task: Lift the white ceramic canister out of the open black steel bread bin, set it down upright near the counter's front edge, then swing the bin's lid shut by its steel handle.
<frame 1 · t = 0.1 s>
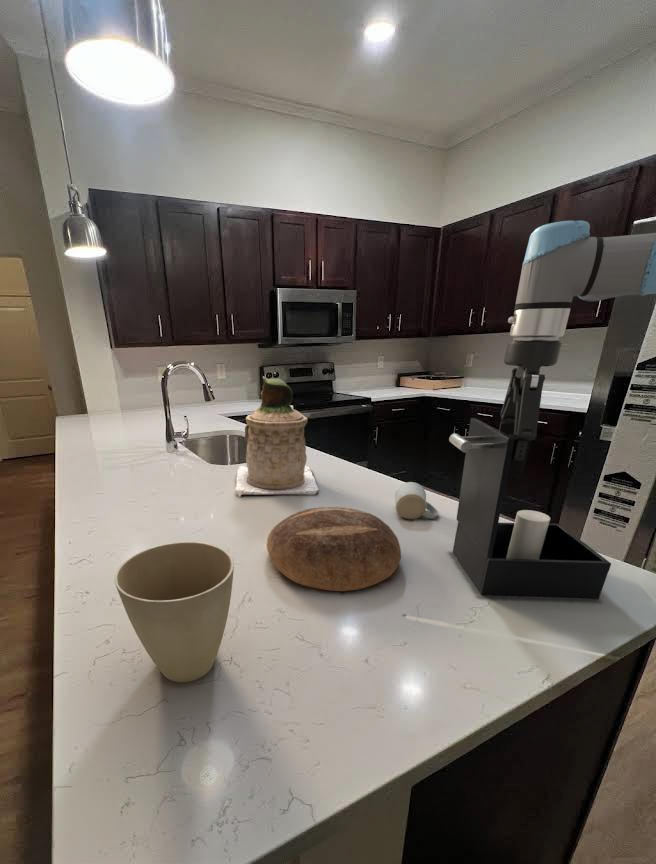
hand: (506, 466, 75), 21 cm above the counter, tool pointing down, fingers open, 13 cm apart
bin lid: (466, 485, 73), point 18 cm above the counter, hinge at 92.0°
ceramic mug: (414, 515, 107), on the counter
bread bin: (517, 576, 80), on the counter
cookie jar: (275, 483, 131), on the counter
canister: (518, 573, 80), point 1 cm above the counter, touching bread bin
bread: (331, 559, 87), on the counter
plant pot: (187, 664, 60), on the counter
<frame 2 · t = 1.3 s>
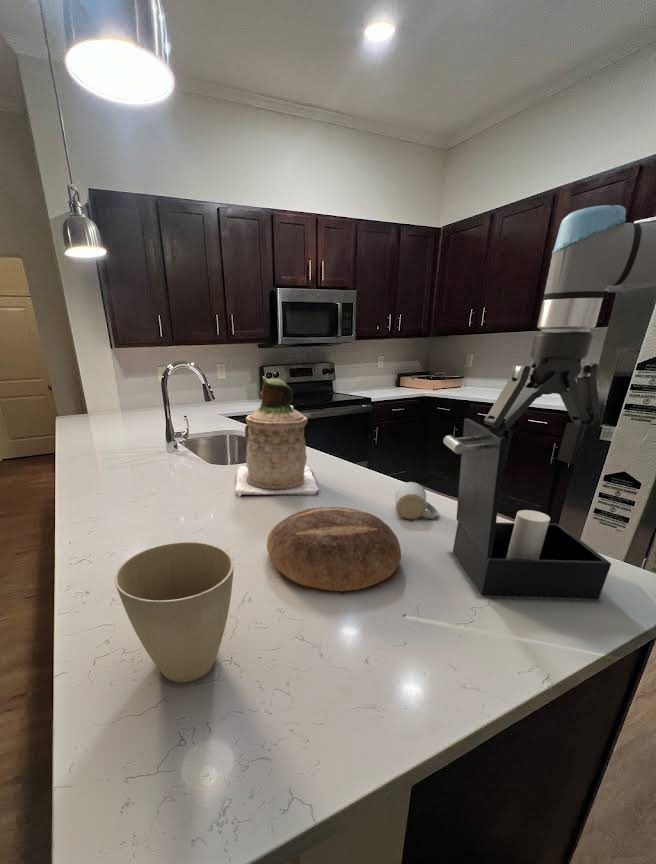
hand: (531, 464, 73), 22 cm above the counter, tool pointing down, fingers open, 13 cm apart
bin lid: (462, 486, 74), point 18 cm above the counter, hinge at 95.1°
everything else where it was.
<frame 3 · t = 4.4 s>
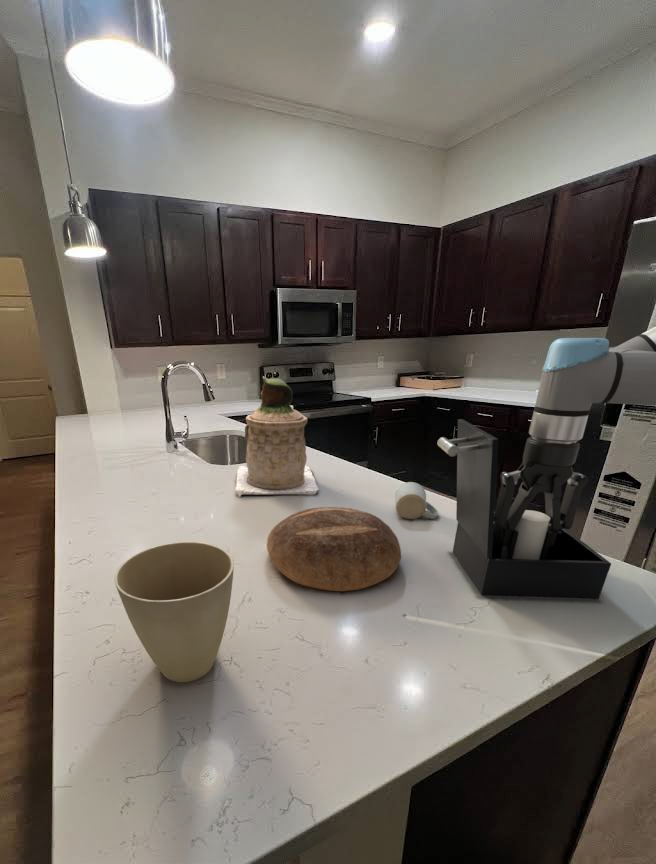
hand: (521, 560, 78), 4 cm above the counter, tool pointing down, fingers closed on canister, 5 cm apart
bin lid: (459, 487, 74), point 18 cm above the counter, hinge at 98.3°
canister: (518, 573, 80), point 1 cm above the counter, touching bread bin, gripper
everything else where it was.
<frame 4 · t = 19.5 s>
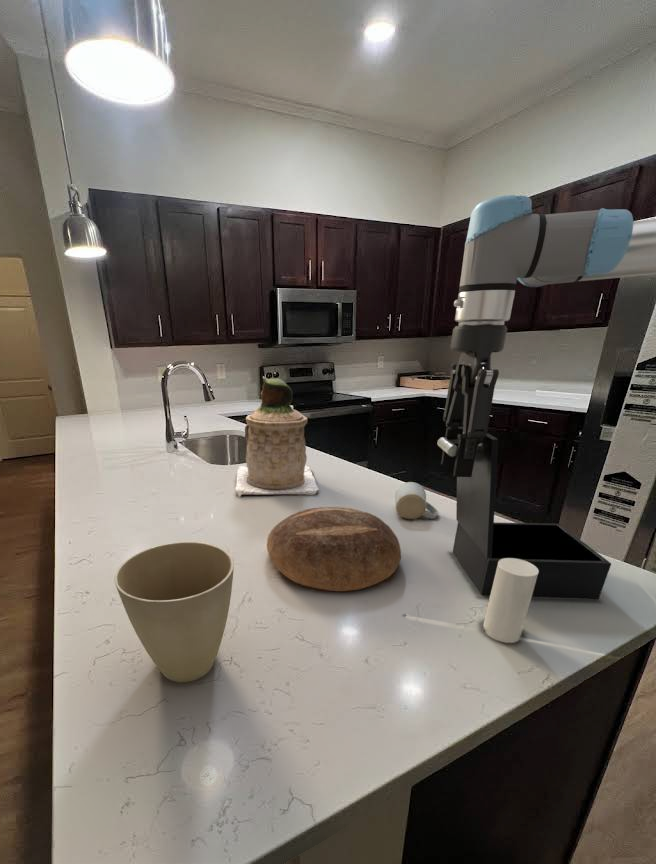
hand: (455, 469, 72), 21 cm above the counter, tool pointing down, fingers closed on bin lid, 6 cm apart
bin lid: (459, 487, 74), point 18 cm above the counter, hinge at 98.4°, touching gripper
canister: (500, 633, 65), on the counter
everything else where it was.
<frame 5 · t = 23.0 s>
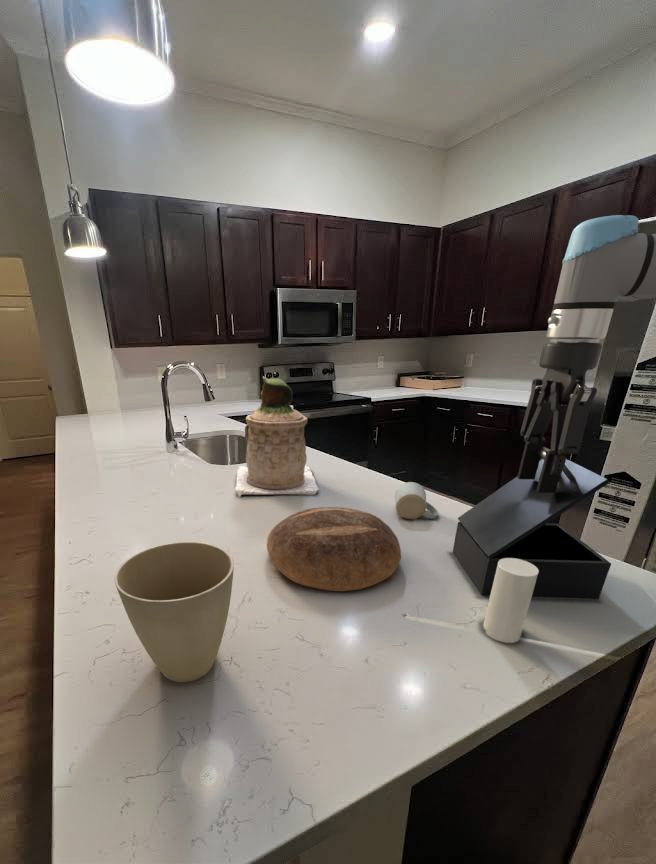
hand: (535, 484, 72), 19 cm above the counter, tool pointing down, fingers closed on bin lid, 6 cm apart
bin lid: (515, 493, 73), point 17 cm above the counter, hinge at 42.9°, touching gripper
everything else where it was.
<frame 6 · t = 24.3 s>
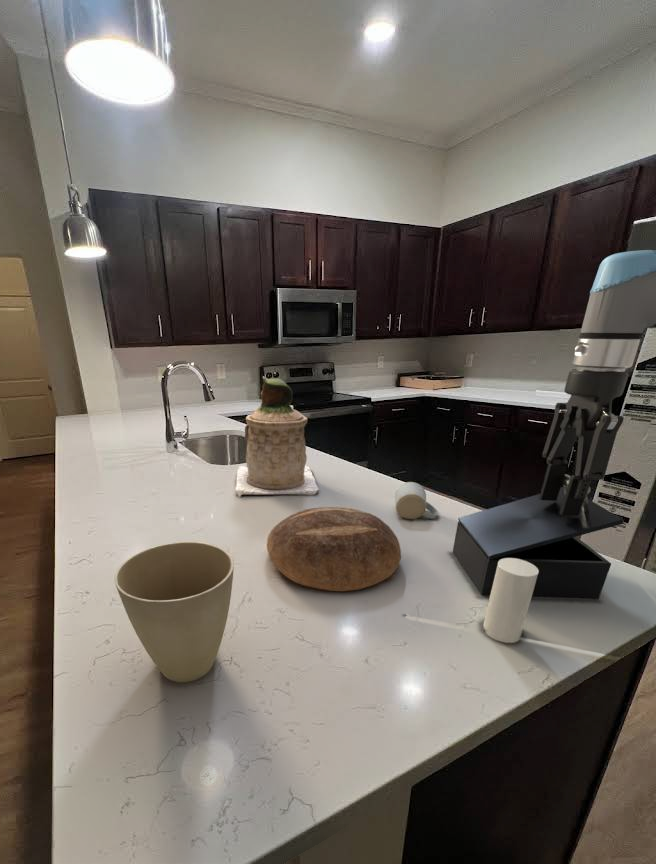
hand: (558, 506, 74), 15 cm above the counter, tool pointing down, fingers closed on bin lid, 6 cm apart
bin lid: (528, 508, 74), point 14 cm above the counter, hinge at 20.5°, touching gripper
everything else where it was.
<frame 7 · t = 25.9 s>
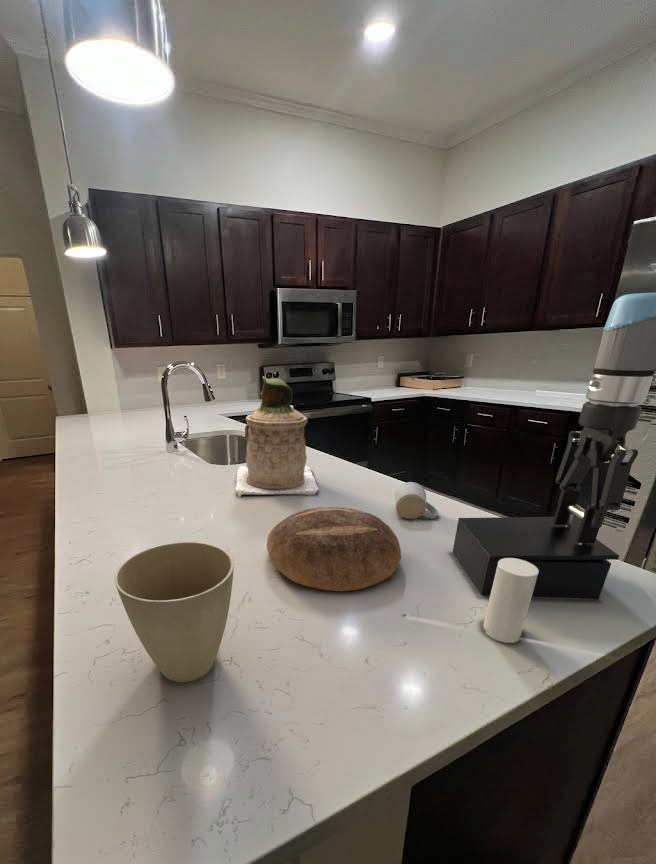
hand: (572, 532, 75), 10 cm above the counter, tool pointing down, fingers open, 6 cm apart
bin lid: (533, 524, 75), point 11 cm above the counter, hinge at 2.0°
everything else where it was.
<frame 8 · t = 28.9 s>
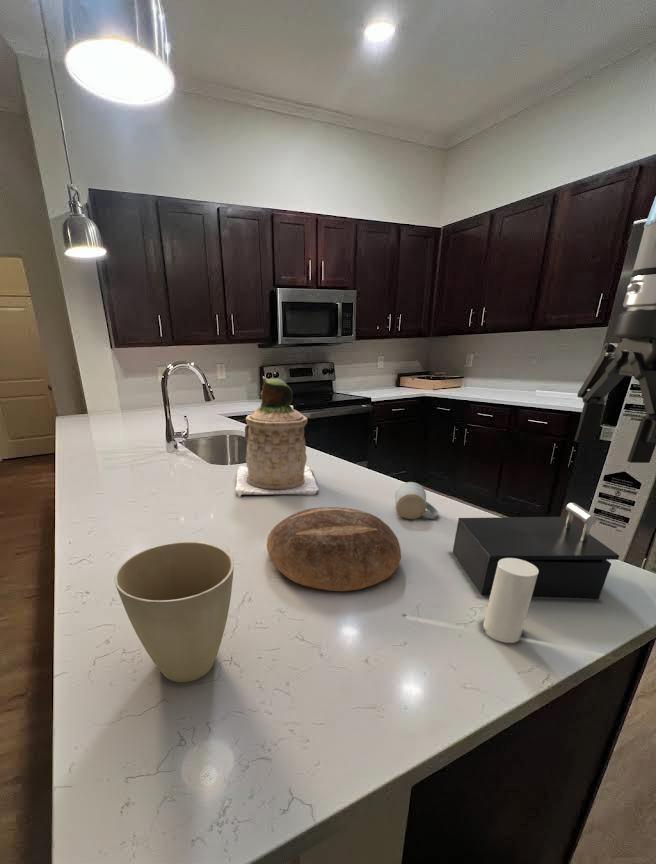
hand: (608, 450, 70), 25 cm above the counter, tool pointing down, fingers open, 13 cm apart
nothing on the counter moved.
at the end: canister inside the target area (0.0 cm from its centre), on the counter; canister tilted 0°; bin lid at +2° (first picture: +92°) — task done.
